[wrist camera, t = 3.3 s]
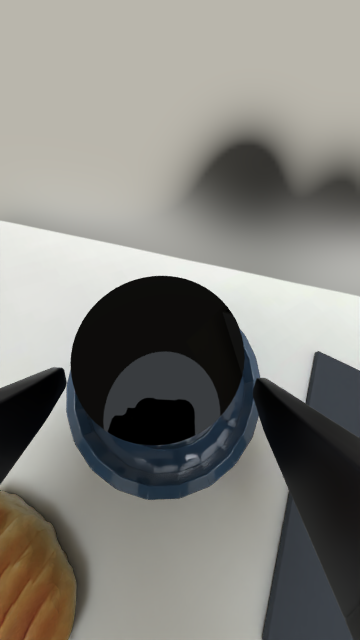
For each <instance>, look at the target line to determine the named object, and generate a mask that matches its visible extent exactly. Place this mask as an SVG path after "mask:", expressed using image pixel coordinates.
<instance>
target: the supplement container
mask: <svg viewBox="0 0 360 640" xmlns="http://www.w3.org/2000/svg"><path fill="white" fill-rule="evenodd" d="M244 360H245V356H244V344H243V339H242V335H241V332H240V329H239V326H238V324H237V322H236V319H235V318H234V316H233V314H232V313H231V311H230V310H229V309H228V307H227V306H226V305H225V304H224V303H223V301H222V300H221V299H220V298H218V297H217V296H216V295H215V294H214V293H212V292H211V291H210V290H208V289H207V288H205V287H203V286H201V285H199V284H197V283H195V282H192V281H189V280H186V279H183V278H178V277H172V276H151V277H145V278H140V279H136V280H133V281H130V282H128V283H125V284H123V285H121V286H119V287H117V288H115V289H114V290H112V291H111V292H109V293H108V294H107V295H105V296H104V297H103V298H102V299H100V300H99V301H98V302H97V303H96V304H95V305H94V306H93V307H92V309H91V310H90V311H89V312H88V314H87V315H86V317H85V318H84V320H83V321H82V323H81V325H80V327H79V329H78V331H77V334H76V336H75V340H74V343H73V347H72V353H71V376H72V382H73V386H74V389H75V392H76V395H77V397H78V400H79V401H80V403H81V405H82V407H83V408H84V410H85V411H86V413H87V414H88V415H89V416H90V418H91V419H92V420H93V421H94V422H95V423H96V424H97V425H99V426H100V427H101V428H102V429H104V430H105V431H106V432H108V433H110V434H111V435H113V436H115V437H117V438H120V439H122V440H124V441H128V442H131V443H135V444H141V445H167V444H172V443H176V442H180V441H183V440H186V439H188V438H191V437H193V436H195V435H197V434H199V433H201V432H202V431H203V430H205V429H206V428H208V427H209V426H211V425H212V424H213V423H214V422H215V421H216V420H217V419H218V418H219V417H220V416H221V415H222V414H223V413H224V412H225V411H226V409H227V408H228V406H229V405H230V404H231V402H232V400H233V398H234V397H235V395H236V393H237V390H238V388H239V386H240V382H241V379H242V375H243V370H244Z"/></svg>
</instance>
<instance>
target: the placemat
mask: <svg viewBox="0 0 360 640" xmlns="http://www.w3.org/2000/svg"><path fill="white" fill-rule="evenodd" d="M306 404H307V405H309V406H310V407H312V408H313V409H315V410H317V411H318V412H320V413H321V414H323V415H325V416H326V417H328V418H329V419H331V420H332V421H334V422H336V423H337V424H339V425H340V426H342V427H343V428H345V429H347V430H348V431H350V432H351V433H353V434H354V435H356V436H358V437H359V438H360V371H359V370H357V369H355V368H353V367H351V366H349V365H347V364H345V363H342V362H340V361H338V360H336V359H334V358H332V357H330V356H328V355H325V354H323V353H321V352H319V351H318V352H316V353H315V357H314V363H313V368H312V373H311V379H310V384H309V390H308V395H307V400H306ZM262 639H263V640H353V638H352V636H351V634H350V631H349V629H348V627H347V624H346V622H345V618H344V616H343V615H342V612H341V610H340V608H339V605H338V603H337V601H336V598H335V596H334V594H333V591H332V589H331V587H330V584H329V582H328V580H327V577H326V575H325V573H324V570H323V568H322V566H321V563H320V561H319V559H318V556H317V554H316V552H315V549H314V547H313V545H312V542H311V540H310V538H309V535H308V533H307V531H306V528H305V526H304V524H303V521H302V519H301V517H300V514H299V512H298V510H297V507H296V505H295V503H294V500H293V498H292V496H291V493H290V492H289V497H288V502H287V508H286V513H285V518H284V524H283V529H282V535H281V540H280V545H279V551H278V556H277V561H276V567H275V572H274V578H273V583H272V588H271V594H270V599H269V604H268V610H267V615H266V621H265V626H264V631H263V637H262Z"/></svg>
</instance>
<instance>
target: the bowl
mask: <svg viewBox="0 0 360 640" xmlns="http://www.w3.org/2000/svg"><path fill="white" fill-rule="evenodd" d="M239 329H240V328H239ZM240 332H241V335H242V339H243V344H244V356H245V360H244V370H243V375H242V379H241V382H240V386H239V388H238V390H237V393H236V395H235V397H234V398H233V400H232V402H231V404H230V405H229V406H228V408H227V409H226V411H225V412H224V413H223V414H222V415H221V416H220V417H219V418H218V419H217V420H216V421H215V422H214V423H213V424H212V425H211V426H209V427H208V428H206V429H205V430H203V431H202V432H201V433H199V434H197V435H195V436H193V437H191V438H188V439H186V440H183V441H180V442H176V443H172V444H167V445H141V444H135V443H131V442H128V441H124V440H122V439H120V438H117V437H115V436H113V435H111V434H110V433H108V432H106V431H105V430H104V429H102V428H101V427H100V426H99V425H97V424H96V423H95V422H94V421H93V420H92V419H91V418H90V416H89V415H88V414H87V413H86V411H85V410H84V408H83V407H82V405H81V403H80V401H79V400H78V397H77V395H76V392H75V389H74V386H73V382H72V376H71V370H70V374H69V378H68V382H67V404H66V412H67V417H68V421H69V425H70V429H71V432H72V436H73V440H74V442H75V445H76V446H77V448H78V449H79V451H80V452H81V454H82V456H83V457H84V459H85V460H86V462H87V463H88V465H89V467H90V468H91V469H92V470H93V471H94V472H95V473H96V474H98V475H99V476H100V477H101V478H103V479H104V480H105V481H106V482H108V483H109V484H110V485H111V486H113V487H114V488H115V489H117V490H119V491H122V492H125V493H128V494H131V495H134V496H137V497H140V498H143V499H148V500H155V499H179V498H182V497H185V496H187V495H190V494H192V493H195V492H197V491H199V490H202V489H204V488H207V487H209V486H210V485H212V484H214V483H215V482H216V481H217V480H218V479H219V478H220V477H222V476H223V475H224V474H225V473H226V472H227V471H229V470H230V469H231V468H232V467H233V466H234V465H235V464H236V463H237V461H238V460H239V458H240V457H241V455H242V453H243V452H244V450H245V449H246V447H247V445H248V444H249V442H250V441H251V439H252V437H253V434H254V430H255V427H256V424H257V420H258V417H259V414H258V411H257V408H256V405H255V402H254V399H253V388H254V384H255V381H256V379H257V378H260V374H259V369H258V365H257V360H256V358H255V354H254V352H253V350H252V348H251V346H250V344H249V342H248V340H247V338H246V336H245V335H244V333H243V332H242V331H241V330H240Z"/></svg>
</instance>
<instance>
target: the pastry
mask: <svg viewBox="0 0 360 640" xmlns="http://www.w3.org/2000/svg"><path fill="white" fill-rule="evenodd" d="M76 591H77V584H76V578H75V576H74V573H73V567H72V566H71V565H70V564H69V563H68V559H67V555H66V553H65V552H63V551H62V550H61V547H60V545H59V543H58V540H57V536H56V531H55V529H54V527H53V525H52V524H51V523H50V522H46V520H45V519H44V518H43V516H42V515H41V514H40V513H38V512H37V511H36V510H35V509H34V508H33V507H30V506H29V505H28V504H26V503H25V502H24V500H23V499H22V498H20V497H19V496H18V495H16V494H8V493H7V492H5V491H1V490H0V640H68V639H69V636H70V633H71V630H72V627H73V622H74V616H75V607H76Z"/></svg>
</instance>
